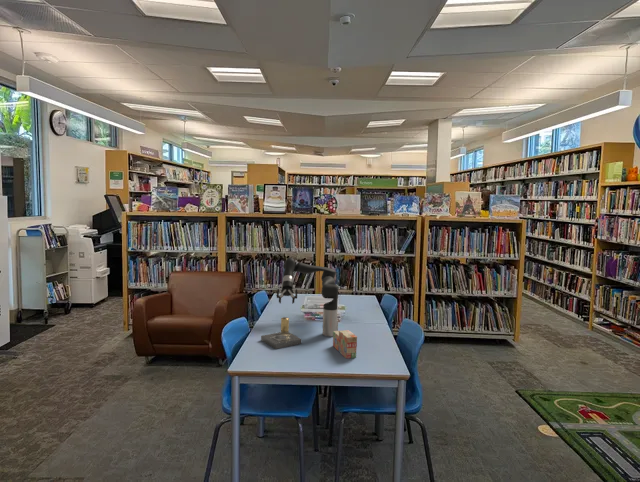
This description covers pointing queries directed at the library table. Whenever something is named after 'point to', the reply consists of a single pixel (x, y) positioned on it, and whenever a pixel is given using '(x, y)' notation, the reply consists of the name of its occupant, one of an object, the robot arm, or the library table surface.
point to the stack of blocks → (345, 343)
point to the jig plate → (281, 340)
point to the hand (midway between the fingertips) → (286, 303)
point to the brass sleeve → (284, 324)
